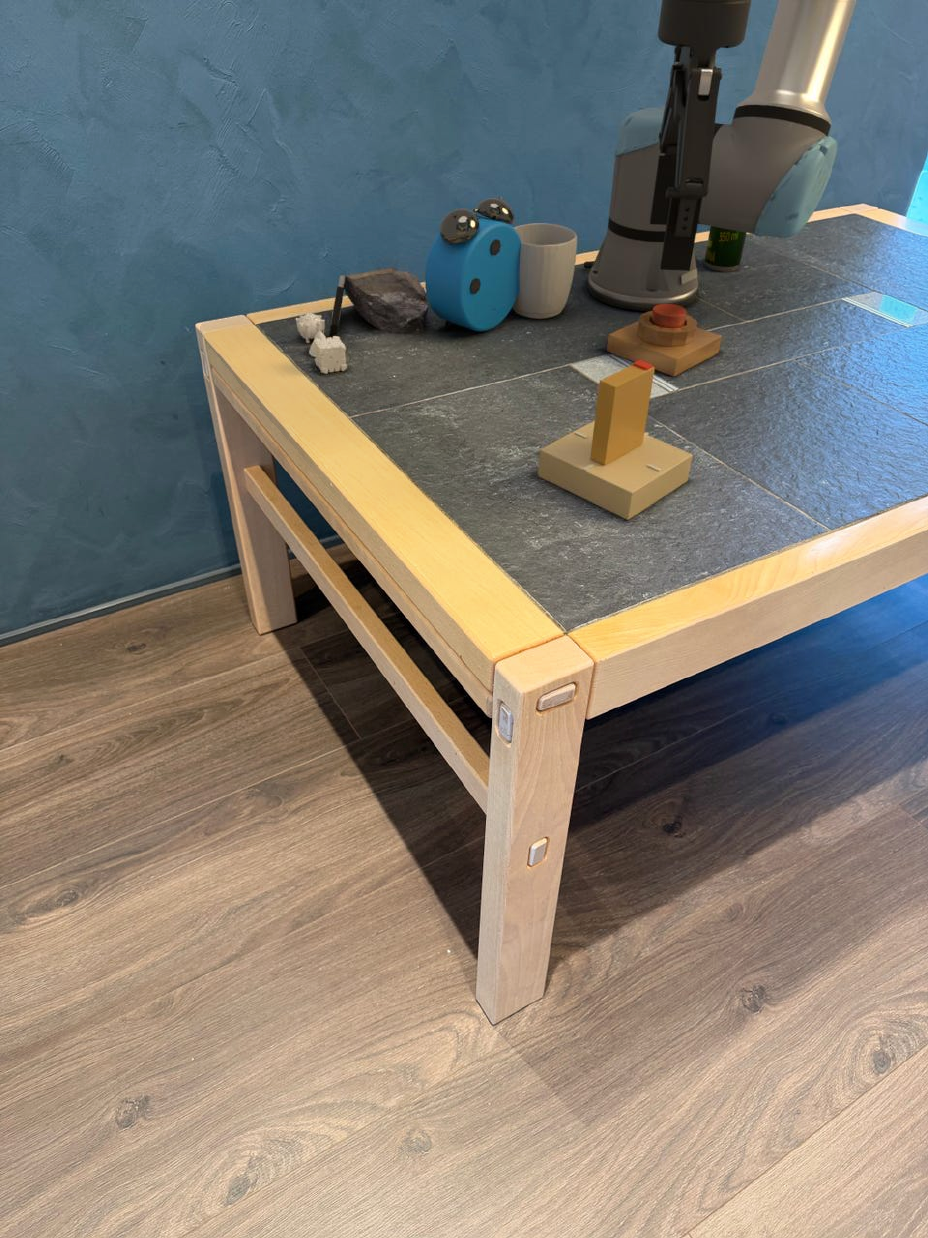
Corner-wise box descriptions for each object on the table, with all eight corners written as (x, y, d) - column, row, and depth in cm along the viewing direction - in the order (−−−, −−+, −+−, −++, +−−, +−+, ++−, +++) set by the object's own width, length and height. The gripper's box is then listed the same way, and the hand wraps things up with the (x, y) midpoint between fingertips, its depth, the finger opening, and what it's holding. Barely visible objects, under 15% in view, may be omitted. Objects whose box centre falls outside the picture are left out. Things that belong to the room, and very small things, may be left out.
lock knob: (604, 465, 85) (615, 384, 80) (589, 458, 86) (599, 377, 81) (642, 444, 89) (655, 364, 83) (627, 437, 90) (639, 358, 84)
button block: (606, 351, 113) (610, 319, 110) (652, 329, 118) (657, 299, 116) (673, 376, 107) (679, 344, 105) (718, 352, 113) (725, 321, 110)
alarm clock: (488, 304, 124) (491, 187, 114) (524, 316, 120) (530, 196, 111) (424, 334, 116) (421, 210, 106) (460, 347, 113) (461, 221, 103)
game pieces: (348, 371, 107) (346, 345, 105) (321, 375, 106) (318, 349, 104) (321, 331, 116) (319, 307, 113) (295, 335, 115) (293, 310, 112)
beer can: (731, 259, 140) (748, 175, 132) (744, 271, 136) (763, 185, 128) (698, 260, 139) (713, 176, 132) (711, 272, 135) (727, 186, 128)
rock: (327, 309, 120) (326, 268, 116) (390, 293, 126) (391, 254, 123) (400, 344, 112) (402, 301, 109) (463, 325, 119) (467, 284, 116)
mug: (582, 307, 123) (589, 231, 117) (549, 328, 118) (555, 250, 111) (503, 287, 129) (506, 213, 122) (468, 307, 123) (469, 230, 117)
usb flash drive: (338, 326, 112) (330, 324, 112) (333, 354, 117) (326, 352, 117) (346, 275, 116) (339, 273, 116) (342, 303, 121) (334, 302, 120)
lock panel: (536, 476, 89) (539, 448, 87) (599, 441, 95) (603, 413, 93) (627, 520, 84) (631, 491, 82) (688, 480, 89) (694, 452, 87)
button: (644, 323, 111) (646, 309, 109) (663, 314, 113) (665, 300, 112) (671, 333, 108) (674, 318, 107) (690, 324, 111) (693, 309, 110)
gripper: (779, 9, 67) (722, 292, 81) (731, -26, 86) (692, 208, 100) (678, 7, 68) (638, 289, 82) (652, -28, 87) (624, 205, 101)
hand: (668, 245), depth 91 cm, fingers open, 13 cm apart
